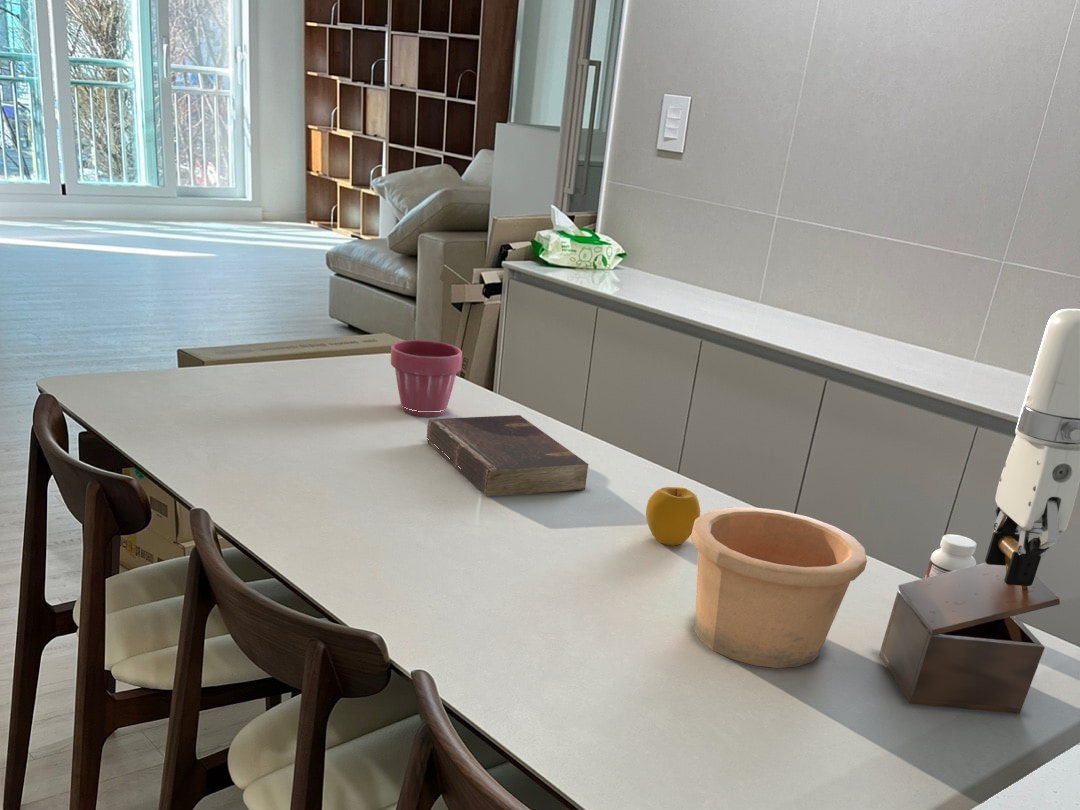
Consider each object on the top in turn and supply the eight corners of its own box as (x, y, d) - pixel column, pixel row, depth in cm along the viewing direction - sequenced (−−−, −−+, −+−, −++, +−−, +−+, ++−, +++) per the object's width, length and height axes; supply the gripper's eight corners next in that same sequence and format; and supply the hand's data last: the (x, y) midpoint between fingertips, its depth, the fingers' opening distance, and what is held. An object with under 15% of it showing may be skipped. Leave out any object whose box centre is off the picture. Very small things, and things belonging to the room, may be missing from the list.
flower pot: (420, 424, 209) (424, 359, 203) (374, 406, 217) (376, 343, 211) (472, 414, 219) (476, 352, 213) (425, 397, 227) (429, 337, 221)
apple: (664, 527, 173) (673, 475, 169) (706, 545, 168) (716, 492, 164) (630, 537, 167) (639, 484, 163) (672, 556, 162) (681, 501, 158)
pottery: (640, 621, 141) (657, 520, 134) (752, 591, 154) (772, 497, 147) (761, 695, 126) (787, 586, 120) (873, 656, 139) (902, 555, 132)
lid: (1015, 560, 133) (1011, 519, 131) (1060, 604, 122) (1057, 559, 119) (898, 590, 135) (893, 549, 132) (932, 636, 124) (927, 592, 121)
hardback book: (426, 443, 199) (427, 417, 197) (517, 440, 207) (519, 415, 204) (485, 497, 176) (487, 468, 174) (584, 491, 184) (588, 464, 182)
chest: (980, 664, 140) (1002, 600, 136) (1019, 715, 129) (1045, 647, 125) (878, 655, 140) (897, 590, 135) (909, 705, 128) (931, 636, 124)
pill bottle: (933, 598, 159) (954, 529, 154) (968, 615, 155) (991, 545, 149) (907, 605, 155) (928, 535, 150) (942, 622, 151) (965, 551, 146)
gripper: (1124, 451, 111) (1070, 607, 120) (1053, 407, 126) (1009, 548, 135) (1055, 446, 111) (1005, 602, 119) (991, 403, 126) (951, 544, 134)
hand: (1007, 572), depth 127 cm, fingers closed on lid, 5 cm apart
